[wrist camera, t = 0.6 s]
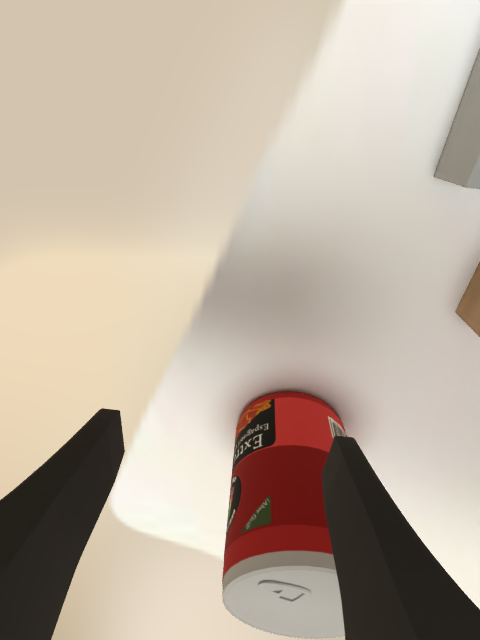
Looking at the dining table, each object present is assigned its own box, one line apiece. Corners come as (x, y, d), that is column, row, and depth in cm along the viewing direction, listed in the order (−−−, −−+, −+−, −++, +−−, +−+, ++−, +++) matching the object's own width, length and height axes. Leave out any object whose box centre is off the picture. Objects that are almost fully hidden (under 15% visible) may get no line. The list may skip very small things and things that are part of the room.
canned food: (250, 377, 23) (241, 552, 14) (360, 402, 24) (424, 588, 15) (226, 448, 27) (206, 624, 18) (321, 469, 28) (351, 649, 18)
